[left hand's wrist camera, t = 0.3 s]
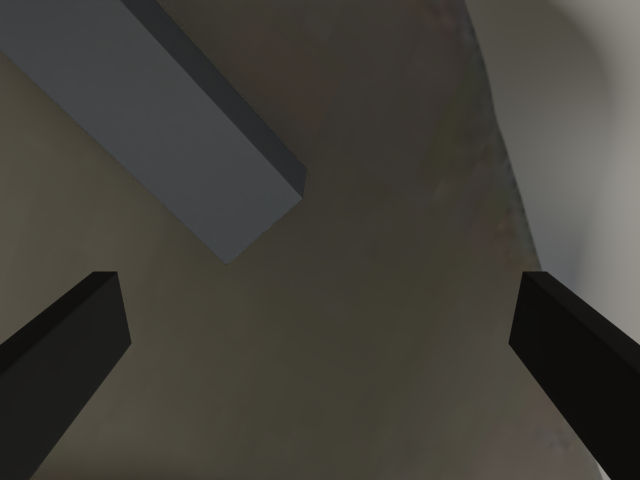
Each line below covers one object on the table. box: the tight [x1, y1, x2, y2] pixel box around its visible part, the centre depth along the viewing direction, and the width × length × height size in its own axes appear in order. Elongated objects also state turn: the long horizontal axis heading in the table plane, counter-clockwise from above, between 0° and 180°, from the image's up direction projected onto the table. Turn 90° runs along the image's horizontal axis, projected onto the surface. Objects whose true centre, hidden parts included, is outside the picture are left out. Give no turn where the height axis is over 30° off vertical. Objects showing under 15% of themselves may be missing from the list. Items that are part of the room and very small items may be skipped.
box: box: [0, 0, 307, 265], centre depth 29 cm, size 22×7×11 cm, turn 42°
